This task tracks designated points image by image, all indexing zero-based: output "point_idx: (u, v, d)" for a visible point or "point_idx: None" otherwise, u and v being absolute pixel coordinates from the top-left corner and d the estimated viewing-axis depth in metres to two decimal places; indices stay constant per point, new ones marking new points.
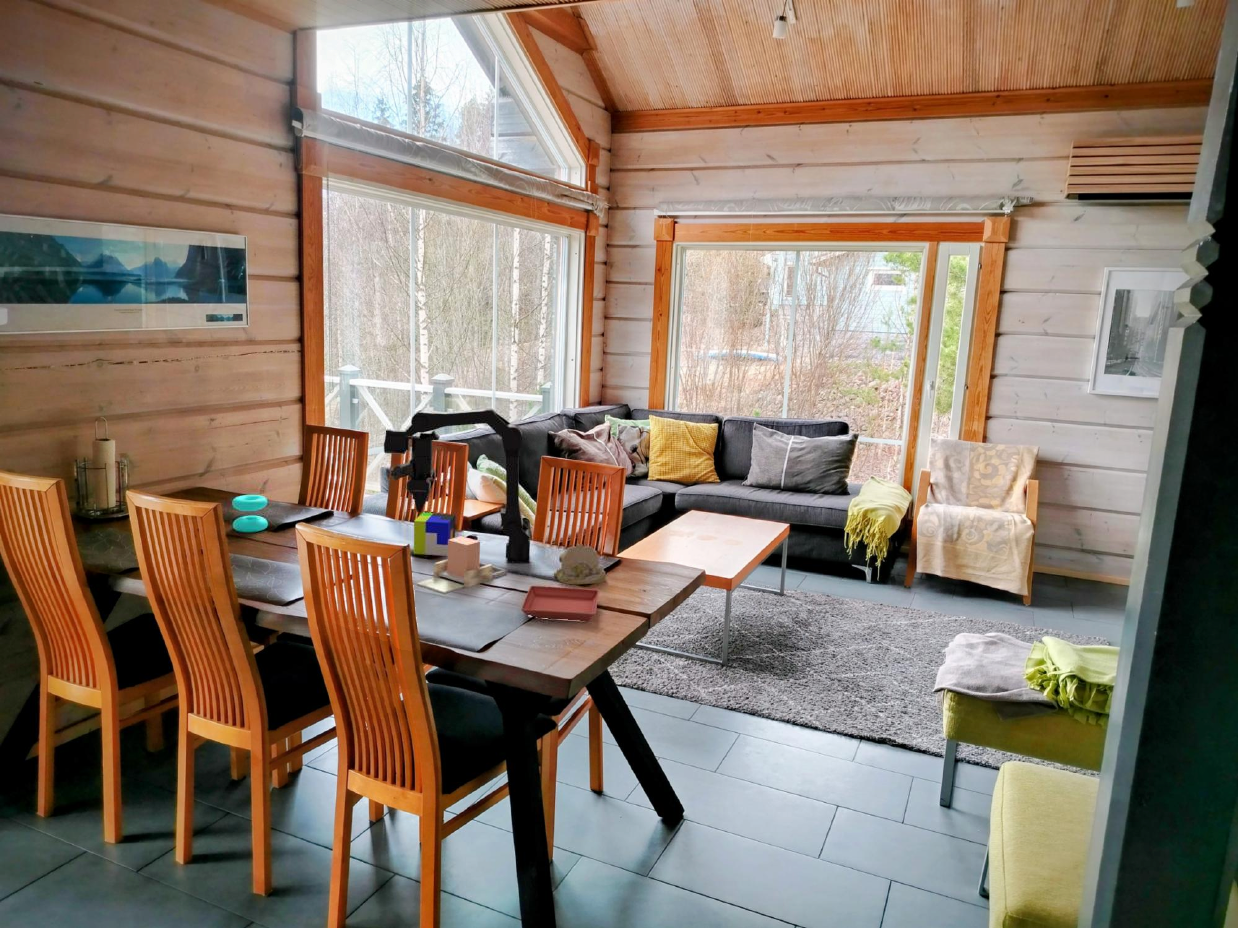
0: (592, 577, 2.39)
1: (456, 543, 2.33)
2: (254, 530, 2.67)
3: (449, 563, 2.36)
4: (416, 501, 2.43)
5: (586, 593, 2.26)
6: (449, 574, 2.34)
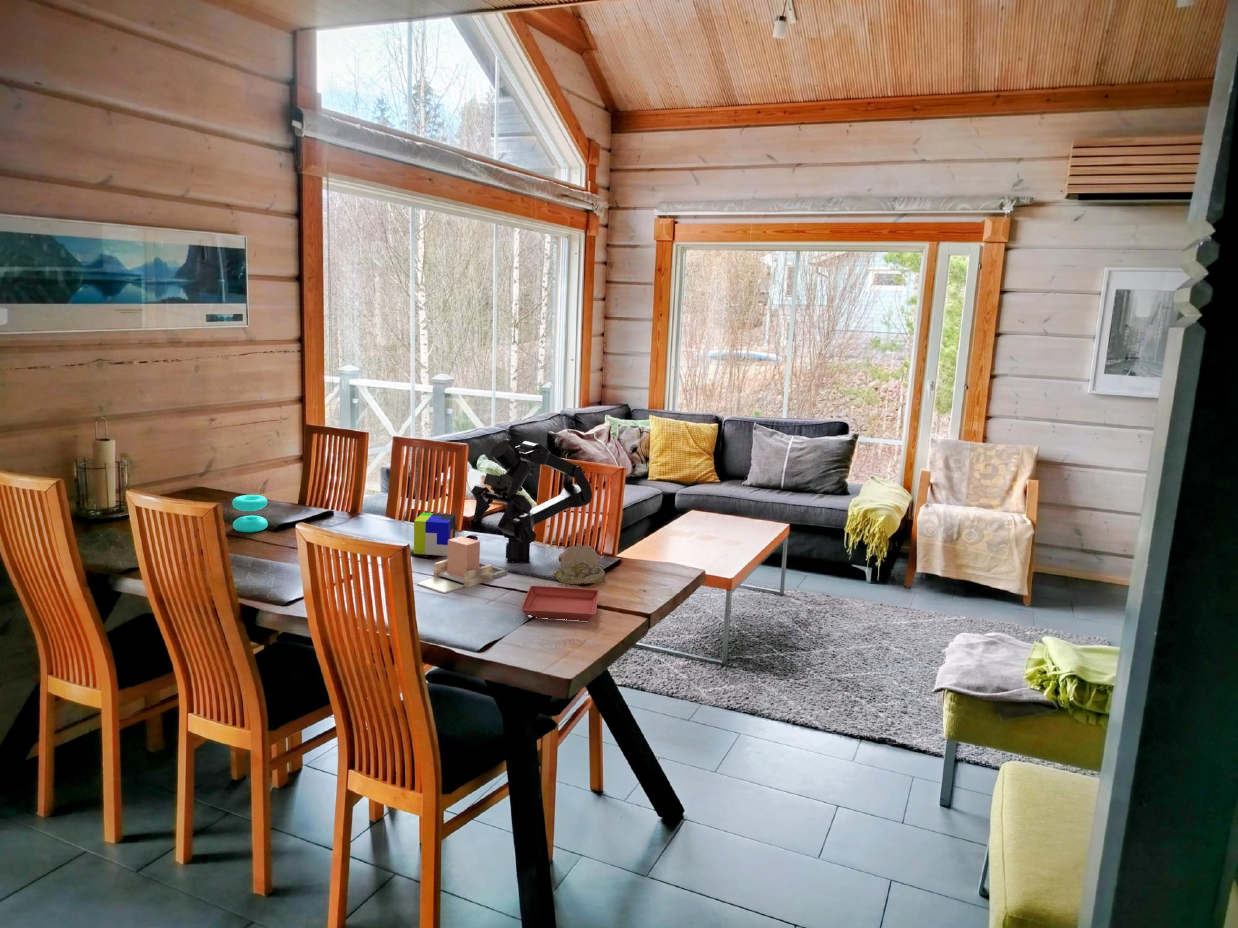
0: (591, 577, 2.39)
1: (456, 543, 2.33)
2: (254, 530, 2.67)
3: (449, 563, 2.36)
4: (506, 516, 2.40)
5: (586, 593, 2.26)
6: (449, 574, 2.34)
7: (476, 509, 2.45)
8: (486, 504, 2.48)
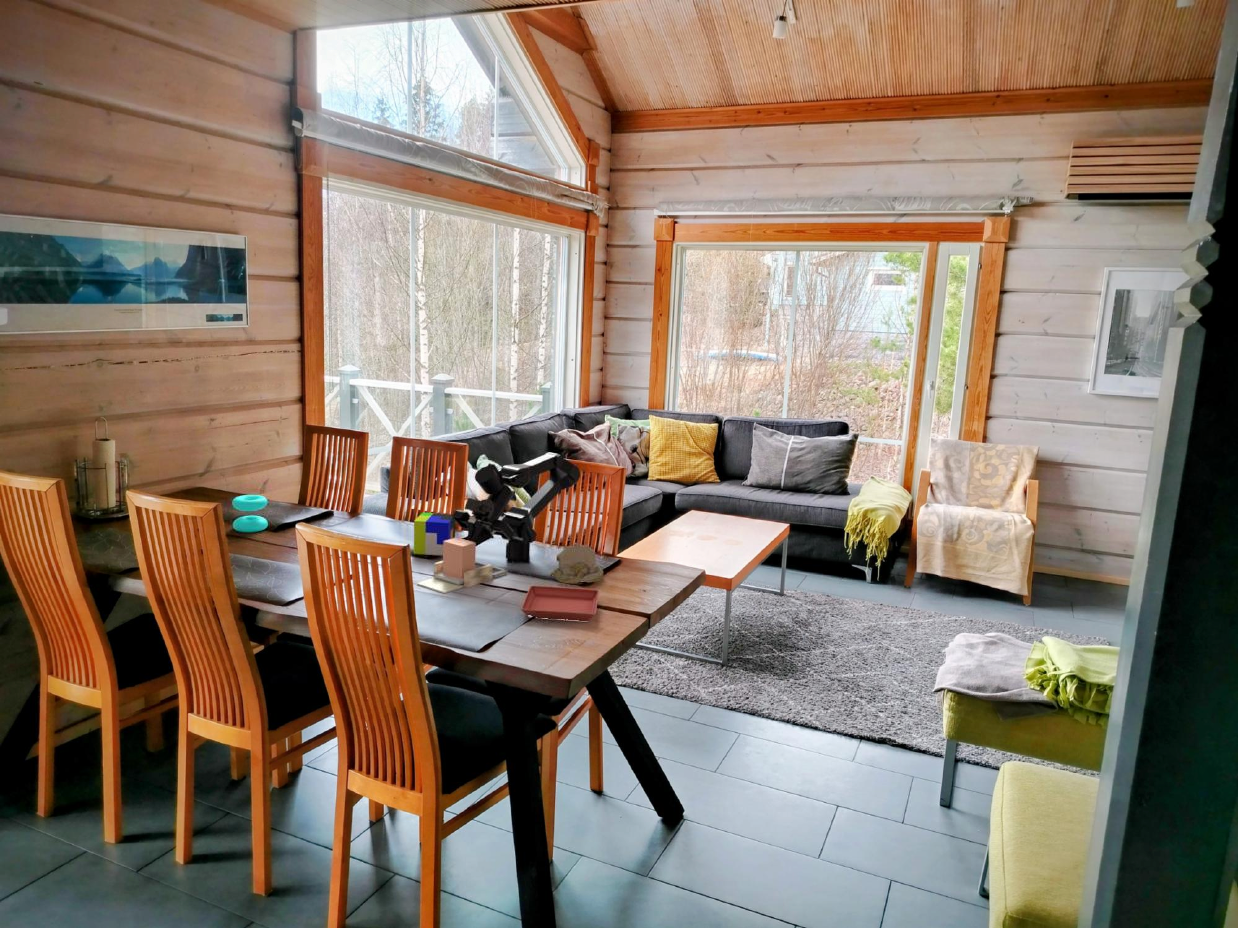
0: (590, 576, 2.40)
1: (452, 544, 2.32)
2: (254, 530, 2.67)
3: (444, 565, 2.34)
4: (475, 539, 2.37)
5: (586, 593, 2.26)
6: (445, 575, 2.33)
7: (468, 538, 2.37)
8: None
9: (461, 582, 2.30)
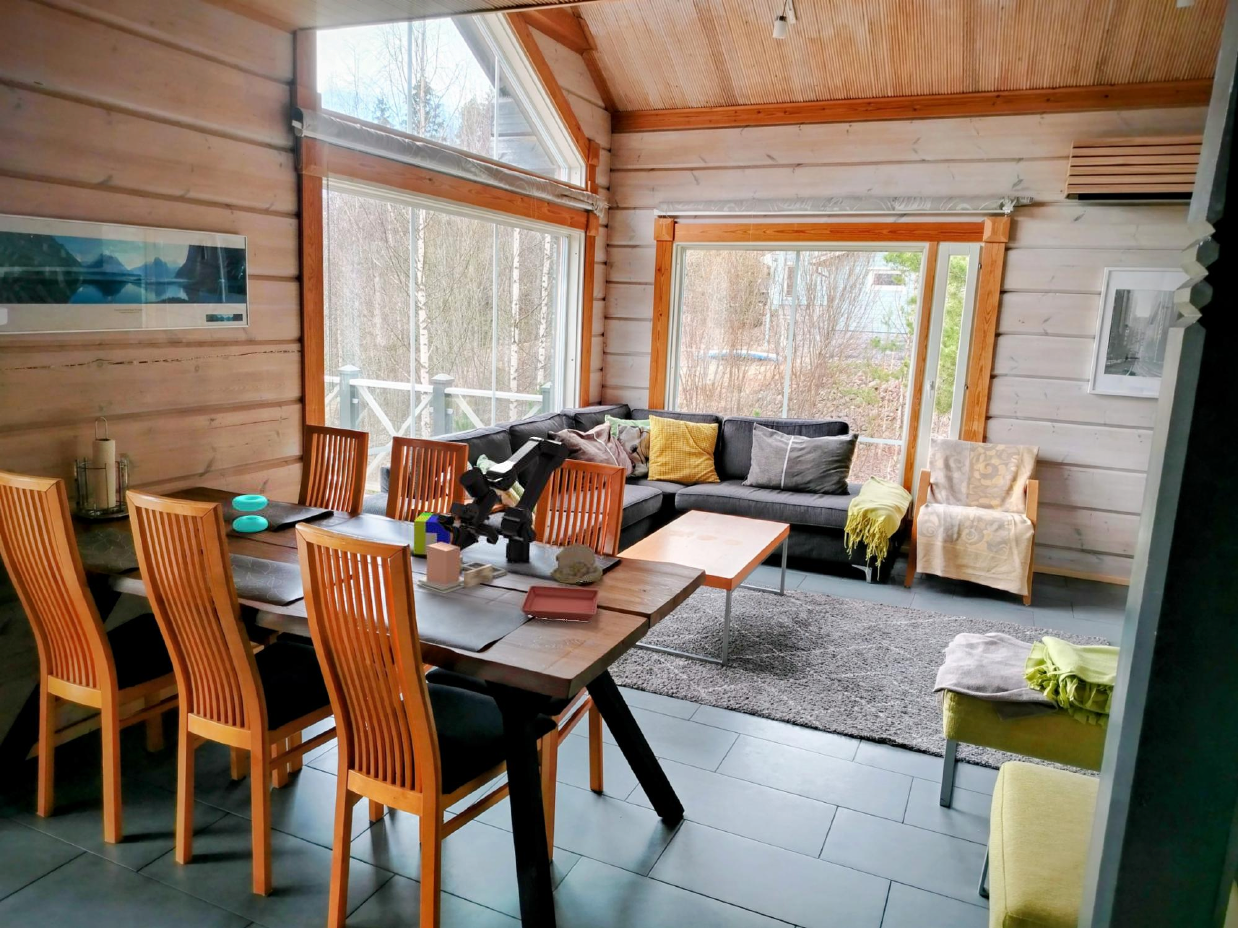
0: (590, 575, 2.40)
1: (435, 549, 2.27)
2: (254, 530, 2.67)
3: (428, 570, 2.29)
4: (460, 543, 2.32)
5: (586, 593, 2.26)
6: (428, 581, 2.28)
7: (453, 542, 2.32)
8: None
9: (445, 587, 2.25)
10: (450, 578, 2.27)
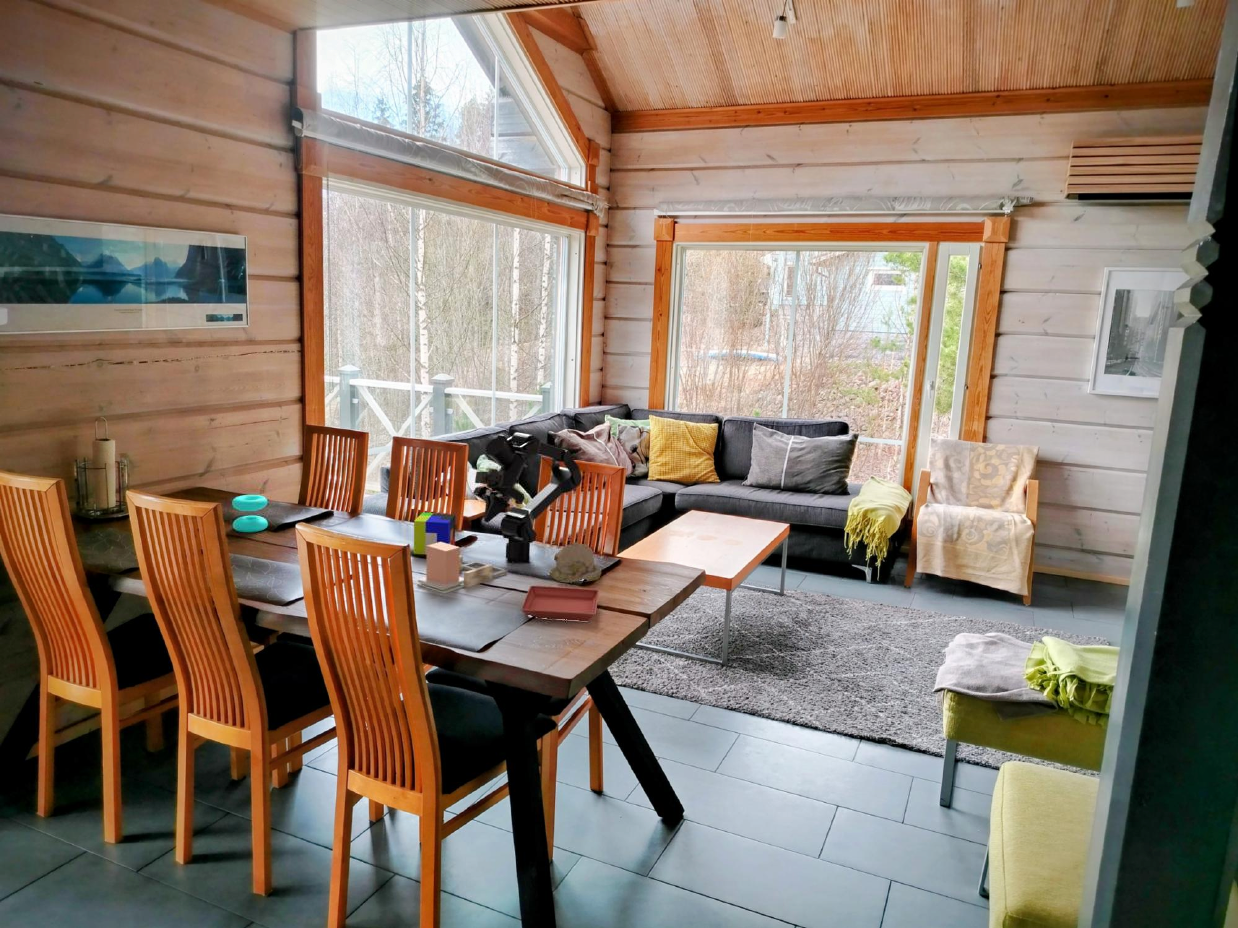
0: (589, 575, 2.41)
1: (435, 549, 2.27)
2: (254, 530, 2.67)
3: (428, 570, 2.29)
4: (491, 510, 2.41)
5: (586, 593, 2.26)
6: (428, 581, 2.28)
7: (486, 510, 2.42)
8: None
9: (444, 588, 2.25)
10: (450, 578, 2.27)
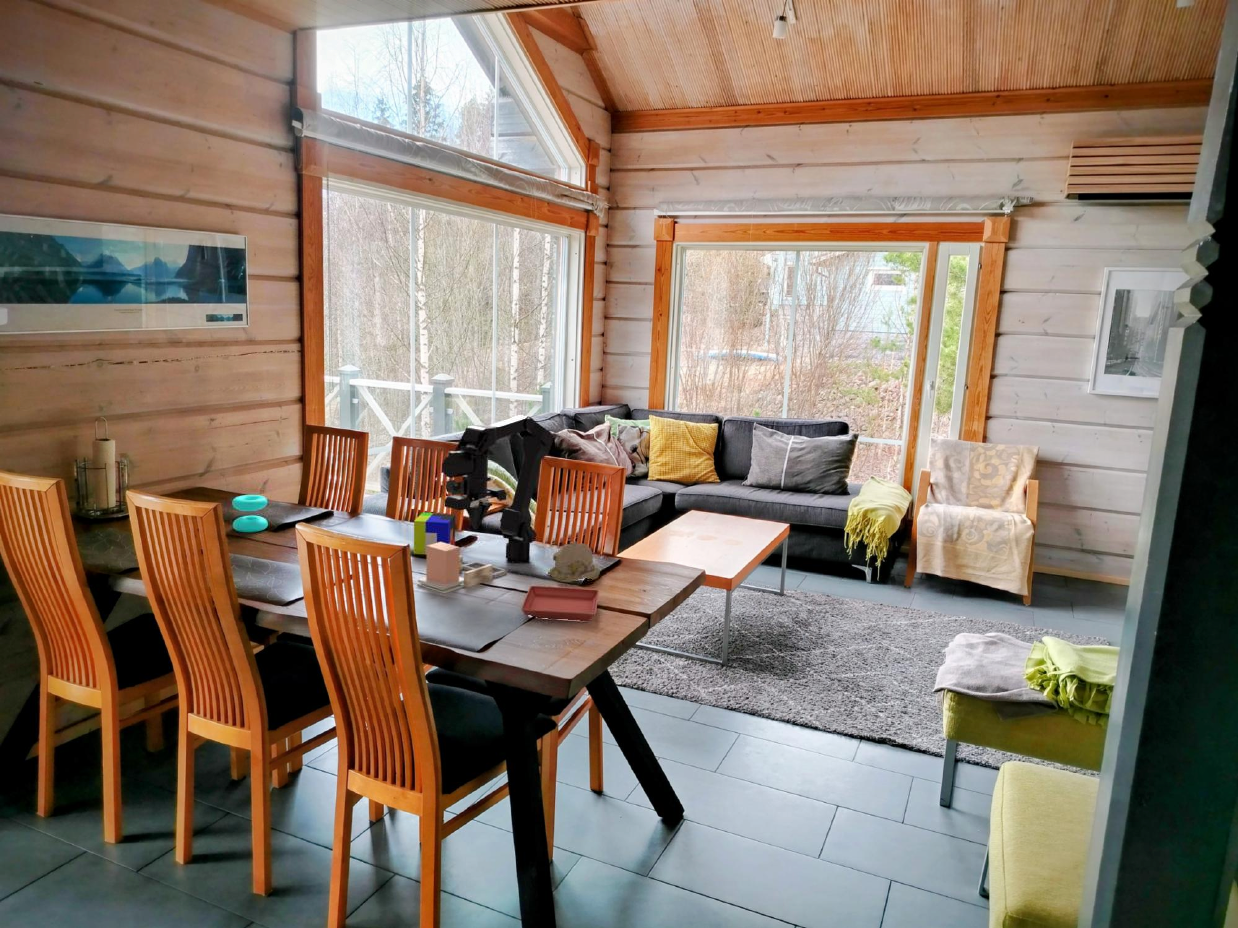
0: (588, 574, 2.41)
1: (435, 549, 2.27)
2: (254, 530, 2.67)
3: (428, 570, 2.29)
4: (470, 517, 2.37)
5: (586, 593, 2.26)
6: (428, 581, 2.28)
7: None
8: None
9: (444, 588, 2.25)
10: (450, 578, 2.27)
